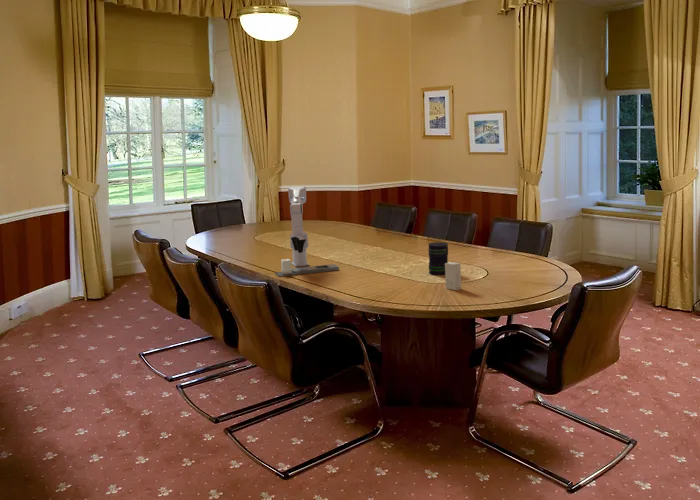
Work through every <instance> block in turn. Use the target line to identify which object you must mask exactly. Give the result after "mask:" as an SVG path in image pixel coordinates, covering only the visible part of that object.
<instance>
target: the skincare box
mask: <svg viewBox="0 0 700 500" xmlns="http://www.w3.org/2000/svg"><path fill="white" fill-rule="evenodd" d="M461 269H462V268H461V263H460V262H454V261H448V263H445V275H444V276H445V289H446V290H447V289H448V290H450V291H451V290H453V291H459V290H462V275H461V273H462V272H461Z"/></svg>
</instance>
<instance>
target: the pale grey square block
mask: <svg viewBox="0 0 700 500" xmlns="http://www.w3.org/2000/svg"><path fill="white" fill-rule="evenodd" d="M291 263H292V260H291V259H290V258H286V259H285V258H284V259H280V267H281V268H280V269H281V272H282V274H292V272H291V269H292V264H291Z"/></svg>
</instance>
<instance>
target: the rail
mask: <svg viewBox="0 0 700 500" xmlns="http://www.w3.org/2000/svg"><path fill="white" fill-rule="evenodd" d="M339 270H340V266H338V265H337V264H335V263H331V264H322V265H314V266H313V265H312V266H300V267H295V268H292V267H291V271H292V272H293V273H294V274H296V275H295V276H299V275H307V273H308V274H317V273H323V272H324V273H325V272H326V273H327V272H333V271H339ZM298 274H299V275H298Z"/></svg>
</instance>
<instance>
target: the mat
mask: <svg viewBox="0 0 700 500" xmlns="http://www.w3.org/2000/svg"><path fill="white" fill-rule="evenodd" d="M291 272H292V271H291ZM274 274H275V275H276V276H277V277H278V278H281V277H292V276H297V275H296V274H294V273H293V272H292V274H282V271H279V272H274Z"/></svg>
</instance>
